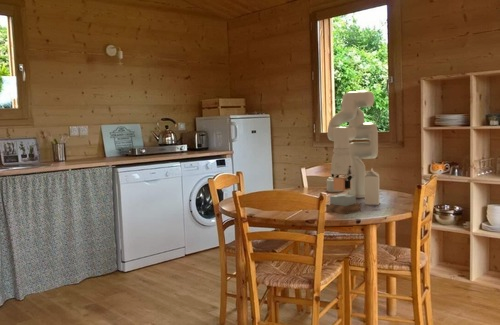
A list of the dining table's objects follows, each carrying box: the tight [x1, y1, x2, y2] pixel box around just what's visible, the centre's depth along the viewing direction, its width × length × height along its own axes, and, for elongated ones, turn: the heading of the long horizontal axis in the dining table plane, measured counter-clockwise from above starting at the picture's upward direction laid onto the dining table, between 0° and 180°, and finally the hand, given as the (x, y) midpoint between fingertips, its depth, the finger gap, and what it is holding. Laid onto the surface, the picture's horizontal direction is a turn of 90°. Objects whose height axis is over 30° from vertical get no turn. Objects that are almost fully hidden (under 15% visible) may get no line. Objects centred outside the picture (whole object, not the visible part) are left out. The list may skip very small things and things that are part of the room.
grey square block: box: [329, 193, 357, 206], centre depth 240 cm, size 9×9×4 cm
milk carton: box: [364, 167, 381, 206], centre depth 255 cm, size 7×7×19 cm
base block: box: [325, 202, 362, 215], centre depth 241 cm, size 12×12×4 cm
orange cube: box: [332, 176, 351, 192], centre depth 239 cm, size 6×6×6 cm
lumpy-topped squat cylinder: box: [326, 176, 342, 193], centre depth 303 cm, size 10×13×9 cm
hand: (342, 187), depth 239 cm, fingers closed on orange cube, 6 cm apart
